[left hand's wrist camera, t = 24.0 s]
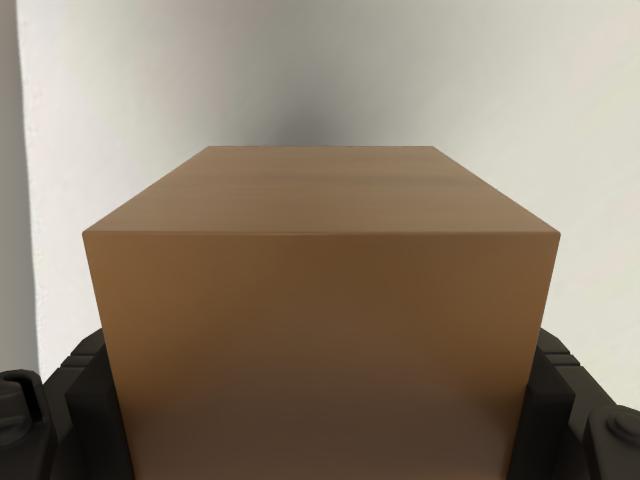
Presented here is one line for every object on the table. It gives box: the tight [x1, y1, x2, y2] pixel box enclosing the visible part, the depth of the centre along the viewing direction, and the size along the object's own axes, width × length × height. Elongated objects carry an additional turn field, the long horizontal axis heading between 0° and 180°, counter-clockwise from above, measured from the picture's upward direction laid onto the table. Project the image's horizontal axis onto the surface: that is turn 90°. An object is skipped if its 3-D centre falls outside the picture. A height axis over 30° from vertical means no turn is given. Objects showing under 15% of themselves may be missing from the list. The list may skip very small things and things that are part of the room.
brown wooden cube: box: [82, 146, 561, 480], centre depth 12 cm, size 9×8×8 cm
